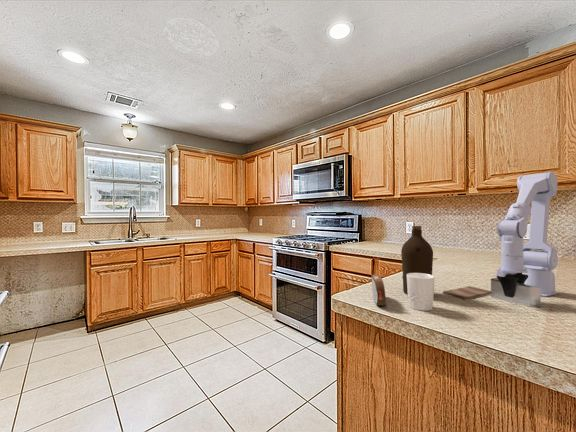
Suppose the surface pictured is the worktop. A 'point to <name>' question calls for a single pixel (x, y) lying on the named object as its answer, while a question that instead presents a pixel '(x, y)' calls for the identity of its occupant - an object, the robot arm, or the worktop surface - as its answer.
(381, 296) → the tin
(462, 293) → the walnut board
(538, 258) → the robot arm
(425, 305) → the white cup
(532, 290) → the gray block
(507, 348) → the worktop surface
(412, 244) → the olive oil
